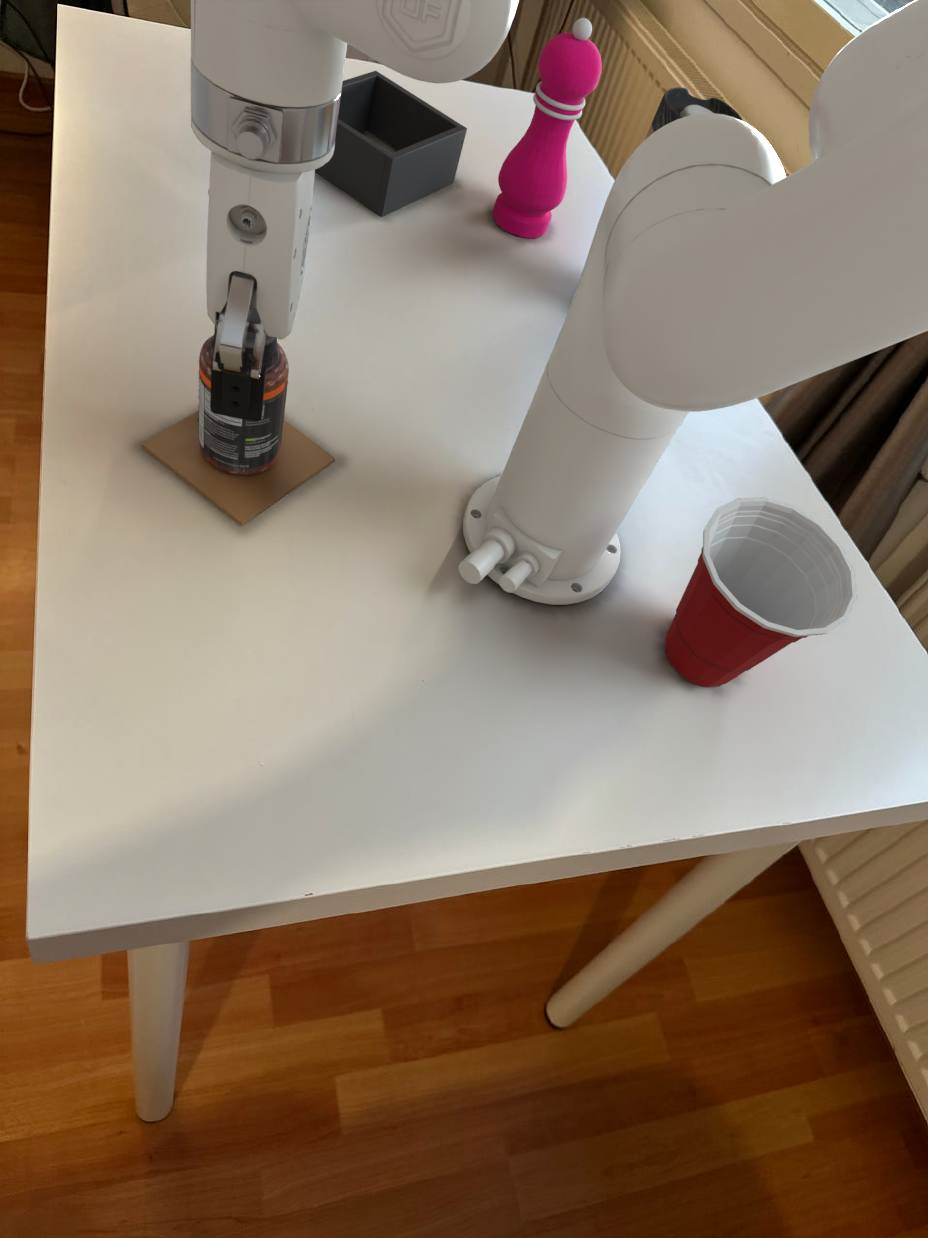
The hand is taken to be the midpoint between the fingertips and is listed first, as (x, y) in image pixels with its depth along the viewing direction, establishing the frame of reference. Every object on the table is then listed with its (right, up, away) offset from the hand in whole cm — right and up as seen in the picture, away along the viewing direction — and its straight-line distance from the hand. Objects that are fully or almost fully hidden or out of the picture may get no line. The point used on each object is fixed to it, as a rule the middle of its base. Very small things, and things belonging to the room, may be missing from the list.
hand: (248, 366), depth 59 cm
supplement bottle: (-2, -5, +6) cm, 8 cm away
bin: (+5, +31, +35) cm, 47 cm away
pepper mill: (+21, +26, +36) cm, 49 cm away
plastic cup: (+32, -20, +7) cm, 38 cm away
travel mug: (+30, +15, +31) cm, 46 cm away
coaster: (-2, -5, +7) cm, 8 cm away
